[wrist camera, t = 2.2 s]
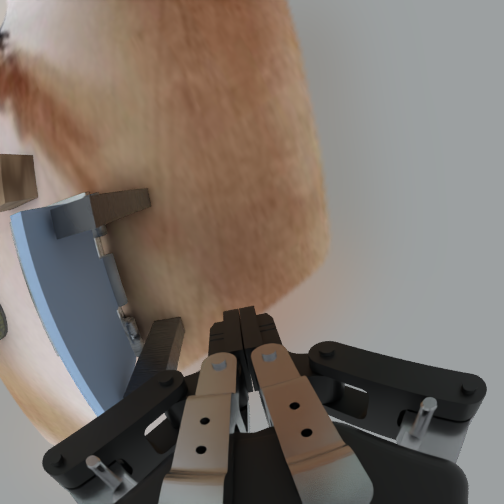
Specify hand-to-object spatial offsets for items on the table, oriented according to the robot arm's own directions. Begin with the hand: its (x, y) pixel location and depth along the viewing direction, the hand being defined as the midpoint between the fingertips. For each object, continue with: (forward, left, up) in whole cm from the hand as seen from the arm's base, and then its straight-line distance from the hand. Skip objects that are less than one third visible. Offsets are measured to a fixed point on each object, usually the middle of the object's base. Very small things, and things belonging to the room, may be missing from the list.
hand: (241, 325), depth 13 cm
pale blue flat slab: (0, -12, -6) cm, 13 cm away
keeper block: (-13, -23, -14) cm, 30 cm away
